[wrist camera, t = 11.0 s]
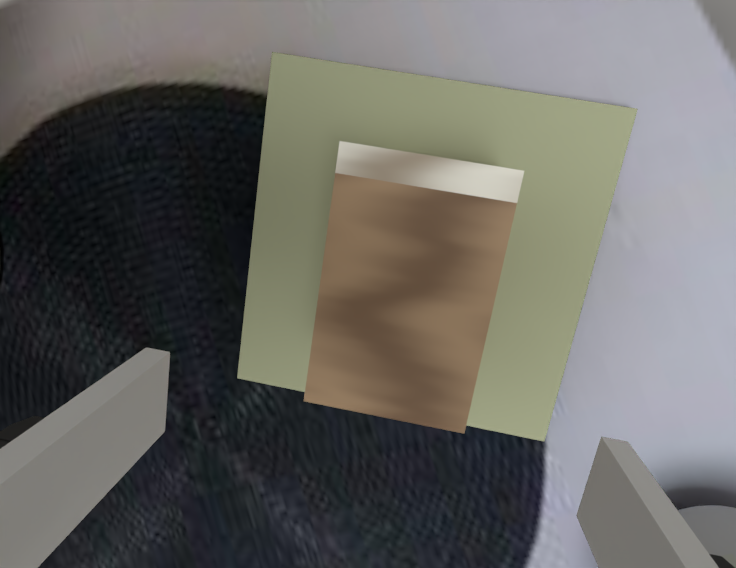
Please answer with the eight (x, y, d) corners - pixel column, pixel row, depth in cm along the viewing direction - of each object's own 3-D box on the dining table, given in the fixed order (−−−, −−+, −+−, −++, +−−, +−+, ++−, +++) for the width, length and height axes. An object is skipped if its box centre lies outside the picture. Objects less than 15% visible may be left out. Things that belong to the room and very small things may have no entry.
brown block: (303, 401, 22) (339, 140, 19) (333, 345, 29) (362, 146, 26) (464, 433, 22) (524, 170, 19) (456, 368, 28) (499, 168, 26)
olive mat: (243, 371, 31) (237, 378, 30) (277, 55, 27) (271, 52, 26) (540, 432, 30) (544, 441, 29) (629, 110, 25) (637, 109, 24)
